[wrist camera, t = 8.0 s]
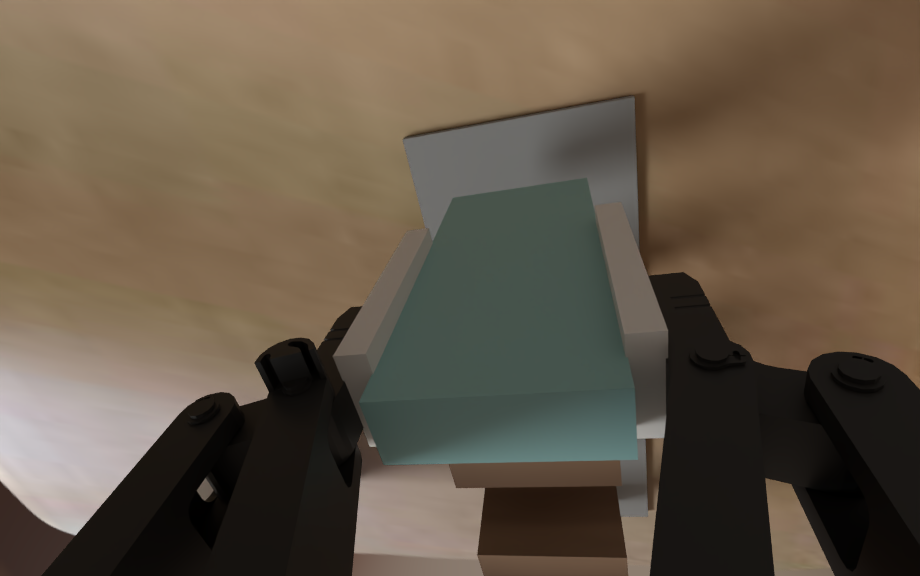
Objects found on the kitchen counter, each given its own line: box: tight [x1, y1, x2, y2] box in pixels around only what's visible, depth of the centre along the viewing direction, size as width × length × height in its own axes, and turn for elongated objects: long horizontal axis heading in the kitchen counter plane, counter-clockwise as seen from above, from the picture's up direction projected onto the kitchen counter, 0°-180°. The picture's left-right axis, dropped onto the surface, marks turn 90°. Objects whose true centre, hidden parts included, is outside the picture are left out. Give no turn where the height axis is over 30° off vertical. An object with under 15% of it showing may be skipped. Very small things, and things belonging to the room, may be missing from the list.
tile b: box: [449, 460, 622, 488], centre depth 20 cm, size 2×5×12 cm, turn 102°
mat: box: [403, 95, 648, 517], centre depth 28 cm, size 27×10×1 cm, turn 12°
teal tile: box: [359, 178, 638, 465], centre depth 14 cm, size 2×5×12 cm, turn 102°
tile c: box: [477, 486, 628, 576], centre depth 23 cm, size 2×5×12 cm, turn 102°
